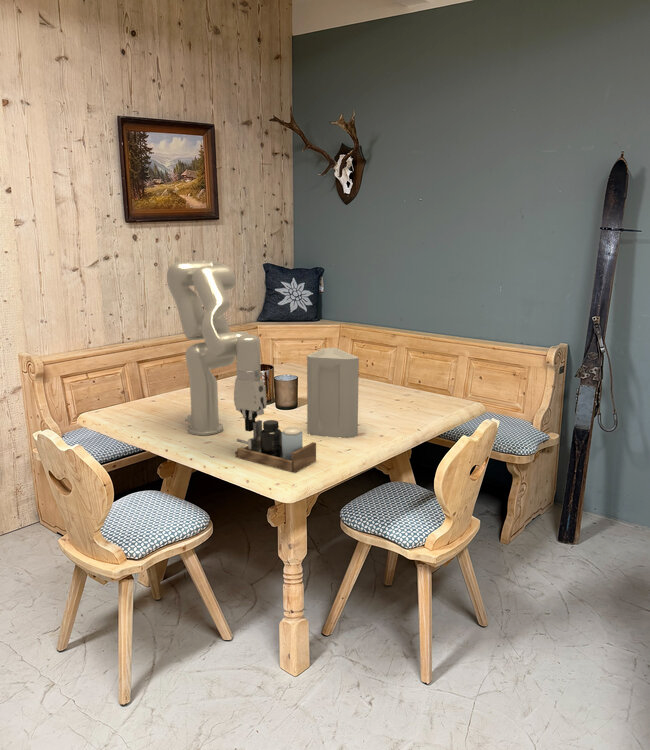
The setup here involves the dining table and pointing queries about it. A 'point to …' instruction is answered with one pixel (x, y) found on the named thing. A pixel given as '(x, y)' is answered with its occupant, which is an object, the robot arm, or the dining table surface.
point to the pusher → (254, 438)
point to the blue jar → (291, 442)
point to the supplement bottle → (271, 439)
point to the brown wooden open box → (298, 462)
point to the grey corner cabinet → (332, 393)
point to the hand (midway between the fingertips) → (250, 430)
